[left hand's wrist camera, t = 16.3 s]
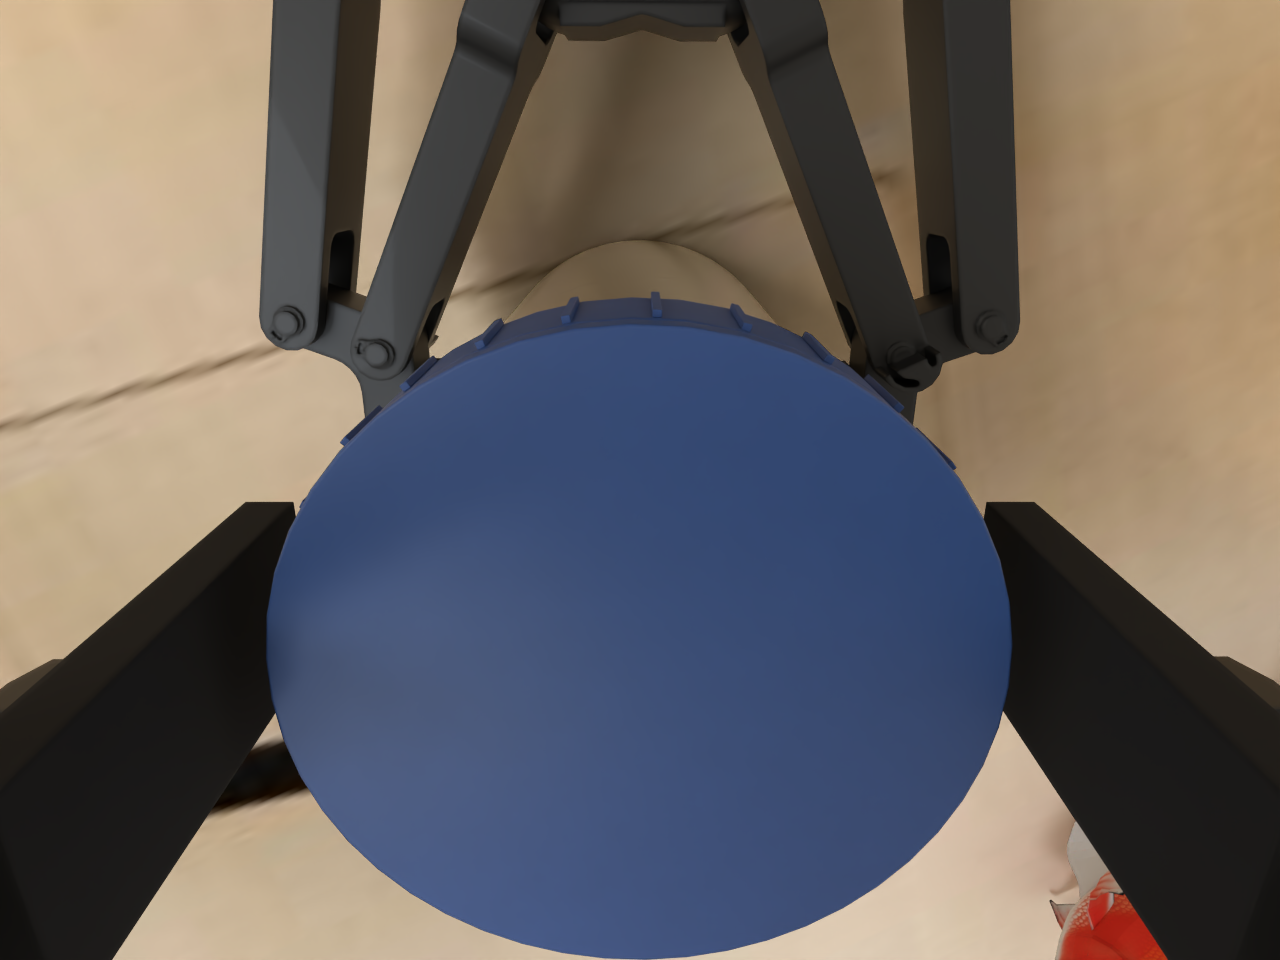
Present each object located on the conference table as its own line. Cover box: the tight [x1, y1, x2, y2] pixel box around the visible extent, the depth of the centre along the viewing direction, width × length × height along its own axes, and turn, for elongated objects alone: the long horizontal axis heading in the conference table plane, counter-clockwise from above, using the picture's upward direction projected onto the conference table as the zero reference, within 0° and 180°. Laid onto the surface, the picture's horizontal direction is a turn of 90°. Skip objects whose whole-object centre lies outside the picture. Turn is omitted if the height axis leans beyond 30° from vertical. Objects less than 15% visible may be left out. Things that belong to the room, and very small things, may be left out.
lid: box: [266, 292, 1012, 960], centre depth 11 cm, size 10×10×2 cm
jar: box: [504, 240, 777, 325], centre depth 18 cm, size 8×8×15 cm
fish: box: [1050, 821, 1168, 960], centre depth 27 cm, size 11×16×10 cm
